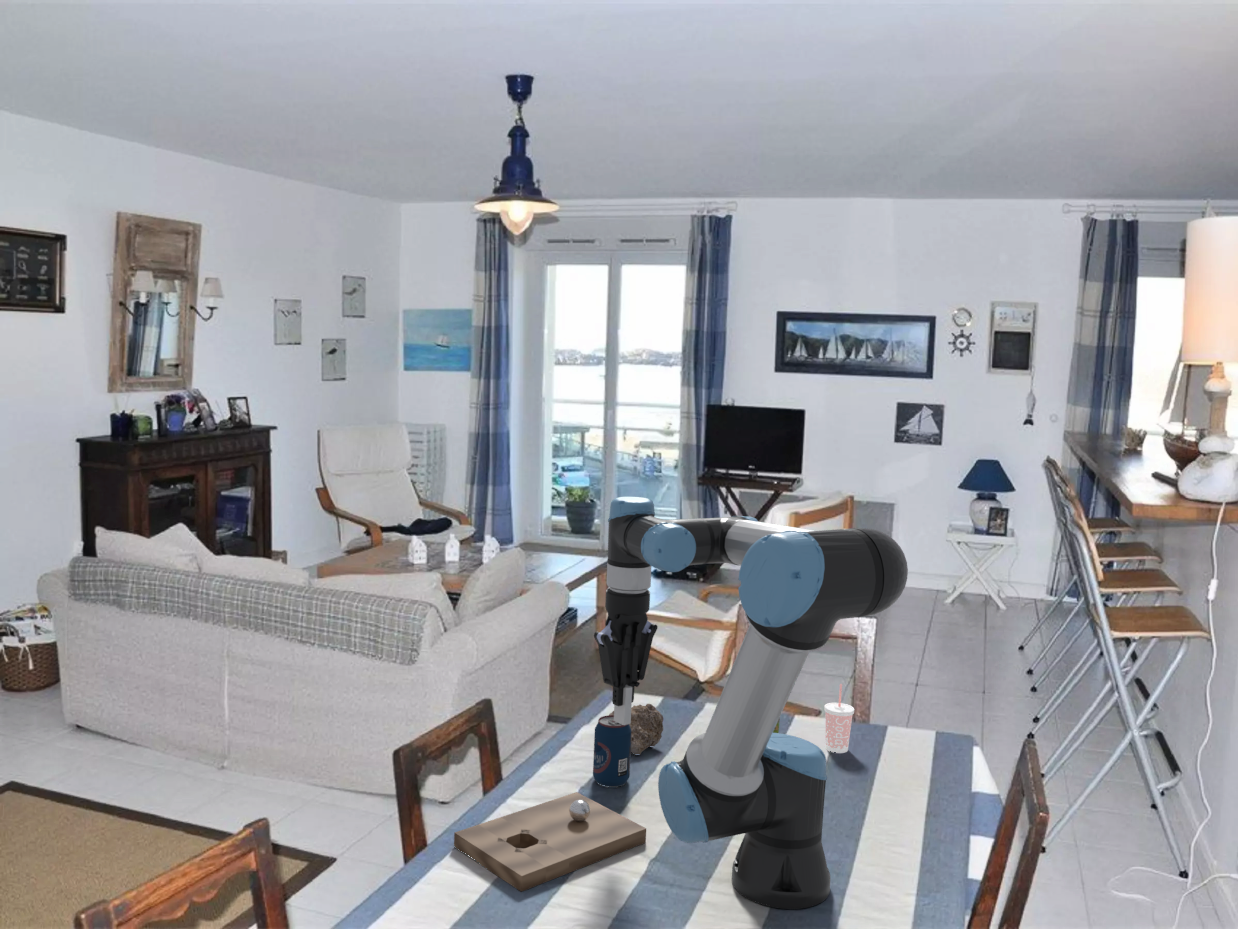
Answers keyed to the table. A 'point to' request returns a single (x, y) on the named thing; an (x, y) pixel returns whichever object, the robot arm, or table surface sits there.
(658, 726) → the brown rock
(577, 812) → the steel ball
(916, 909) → the table surface
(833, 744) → the beverage cup
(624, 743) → the soda can
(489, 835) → the walnut board
